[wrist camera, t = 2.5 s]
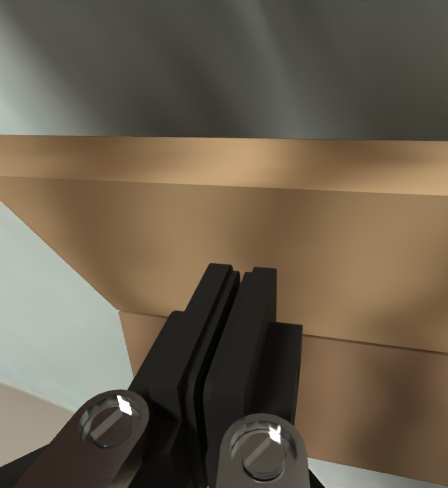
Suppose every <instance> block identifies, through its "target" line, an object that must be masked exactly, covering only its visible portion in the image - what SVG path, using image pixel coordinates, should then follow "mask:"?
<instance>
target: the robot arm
mask: <svg viewBox="0 0 448 488" xmlns="http://www.w3.org/2000/svg"><path fill="white" fill-rule="evenodd" d="M276 314H277V269H276V268H265V267H254V268H253V270H252V272H245V273H244V276H243V278H242V281H241V279H240V272H239V271H233V267H232V265H230V264H218V263H209V265H208V267H207V269H206V270H205V272H204V274H203V276H202V278H201V280H200V282H199V284H198V286H197V288H196V290H195V292H194V294H193V295H192V297H191V299H190V301H189V303H188V305H187V307H186V309H185V311H177V310H174V311H173V312H172V313H171V314H170V315H169V317H168V319H167V320H166V322H165V324H164V326H163V328H162V329H161V331H160V333H159V335H158V336H157V338H156V340H155V342H154V344H153V345H152V347H151V349H150V351H149V352H148V354H147V356H146V358H145V360H144V361H143V363H142V365H141V367H140V368H139V370H138V372H137V374H136V376H135V377H134V379H133V381H132V383H131V385H130V386H129V388H128V390H122V389H120V390H110V391H107V392H104V393H101V394H98V395H97V396H95V397H93V398H91V399H90V400H88V401H87V402H86V403H85V404H84V405H83V406H81V407H80V408H79V409H78V410H77V412H76V413H75V414H74V415H73V416H72V418H71V419H70V420H69V421H68V422H67V423H66V425H65V426H64V427H63V428H62V429H61V431H60V432H59V433H58V434H57V435H56V437H55V438H54V439H53V440H52V441H51V442H50V444H48V445H45V446H43V447H41V448H39V449H37V450H35V451H33V452H31V453H29V454H27V455H25V456H23V457H21V458H19V459H16V460H14V461H12V462H10V463H8V464H6V465H4V466H2V467H0V488H207V487H208V486H209V488H325V487H324V486H323V485H322V484H321V482H320V481H319V480H318V479H317V478H316V476H315V475H314V474H313V473H312V472H311V471H310V469H309V468H308V459H307V451H306V447H305V443H304V439H303V438H302V436H301V435H300V433H299V432H298V430H297V429H296V428H295V427H294V425H295V415H296V406H297V397H298V388H299V378H300V367H301V353H302V334H303V325H300V324H291V323H282V322H276Z"/></svg>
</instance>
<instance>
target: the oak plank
mask: <svg viewBox="0 0 448 488" xmlns="http://www.w3.org/2000/svg"><path fill="white" fill-rule="evenodd" d="M0 201H1V202H2V203H4V204H5V205H6V206H7V207H8V208H9V209H10V210H11V211H12V212H13V213H14V214H15V215H16V216H17V217H18V218H20V219H21V220H22V221H23V222H24V223H25V224H26V225H27V226H28V227H29V228H30V229H31V230H32V231H33V232H34V233H36V234H37V235H38V236H39V237H40V238H41V239H42V240H43V241H44V242H45V243H46V244H47V245H48V246H49V247H50V248H52V249H53V250H54V251H55V252H56V253H57V254H58V255H59V256H60V257H61V258H62V259H63V260H64V261H65V262H66V263H68V264H69V265H70V266H71V267H72V268H73V269H74V270H75V271H76V272H77V273H78V274H79V275H80V276H81V277H82V278H84V279H85V280H86V281H87V282H88V283H89V284H90V285H91V286H92V287H93V288H94V289H95V290H96V291H97V292H98V293H100V294H101V295H102V296H103V297H104V298H105V299H106V300H107V301H108V302H109V303H110V304H111V305H112V306H113V307H114V308H116V309H117V310H122V311H130V312H138V313H145V314H153V315H161V316H168V317H169V315H170V314H171V313H172V312H173V311H174V310H177V311H185V309H186V307H187V305H188V303H189V301H190V299H191V297H192V295H193V294H194V292H195V290H196V288H197V286H198V284H199V282H200V280H201V278H202V276H203V274H204V272H205V270H206V269H207V267H208V265H209V263H218V264H230V265H232V267H233V271H239V272H240V279H241V281H242V278H243V276H244V273H245V272H252V270H253V268H254V267H265V268H276V269H277V314H276V322H282V323H291V324H300V325H303V334H307V335H314V336H322V337H330V338H337V339H345V340H353V341H360V342H368V343H376V344H383V345H391V346H399V347H406V348H414V349H422V350H429V351H437V352H445V353H448V141H397V140H327V139H256V138H186V137H115V136H44V135H0Z"/></svg>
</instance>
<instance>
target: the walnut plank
mask: <svg viewBox="0 0 448 488" xmlns="http://www.w3.org/2000/svg"><path fill="white" fill-rule="evenodd" d="M119 316H120V320H121V325H122V329H123V333H124V338H125V342H126V346H127V350H128V355H129V359H130V363H131V368H132V372H133V376H134V377H135V376H136V374H137V372H138V370H139V368H140V367H141V365H142V363H143V361H144V360H145V358H146V356H147V354H148V352H149V351H150V349H151V347H152V345H153V344H154V342H155V340H156V338H157V336H158V335H159V333H160V331H161V329H162V328H163V326H164V324H165V322H166V320H167V319H168V316H161V315H153V314H145V313H138V312H130V311H122V310H120V311H119ZM294 427H295V428H296V429H297V430H298V432H299V433H300V435H301V436H302V438H303V439H304V443H305V447H306V451H307V457H308V458H313V459H318V460H323V461H328V462H333V463H338V464H343V465H348V466H353V467H357V468H362V469H367V470H372V471H377V472H382V473H387V474H392V475H397V476H402V477H407V478H412V479H416V480H421V481H426V482H431V483H436V484H441V485H446V486H448V353H445V352H437V351H429V350H422V349H414V348H406V347H399V346H391V345H383V344H376V343H368V342H360V341H353V340H345V339H337V338H330V337H322V336H314V335H307V334H302V353H301V367H300V378H299V388H298V397H297V406H296V415H295V425H294Z"/></svg>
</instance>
